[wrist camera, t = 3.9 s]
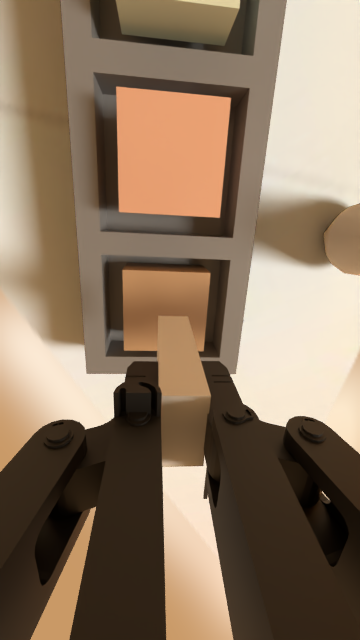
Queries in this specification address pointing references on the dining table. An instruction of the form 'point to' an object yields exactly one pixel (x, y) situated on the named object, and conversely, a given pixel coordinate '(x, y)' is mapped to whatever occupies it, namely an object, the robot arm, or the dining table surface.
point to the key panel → (165, 230)
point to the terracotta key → (171, 152)
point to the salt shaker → (344, 241)
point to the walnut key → (162, 301)
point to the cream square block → (179, 19)
